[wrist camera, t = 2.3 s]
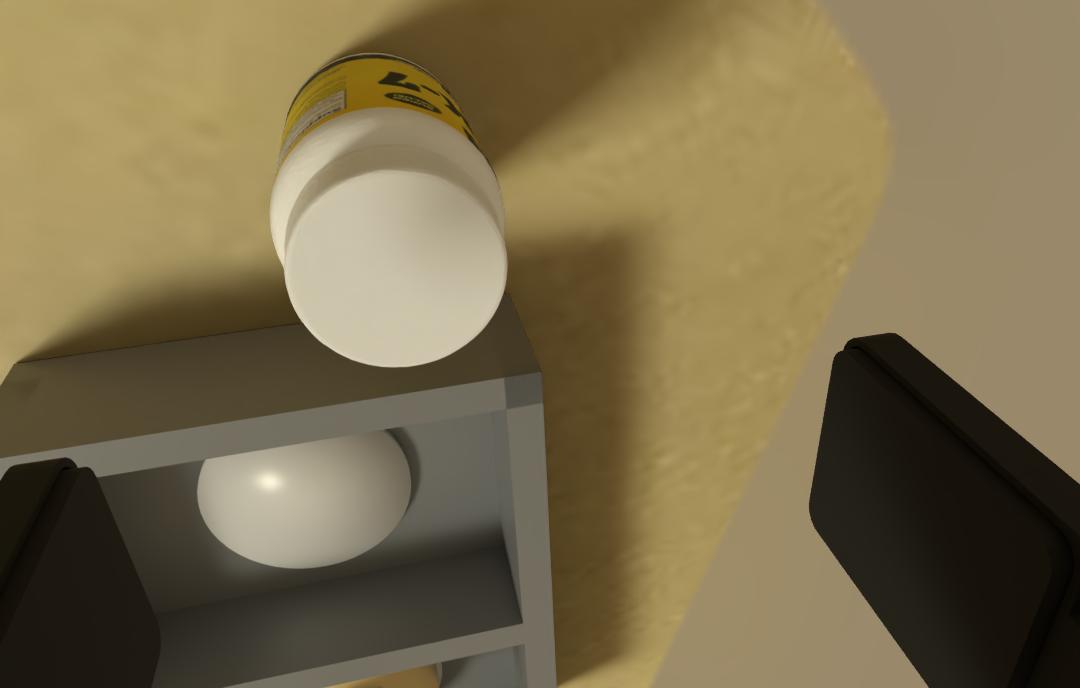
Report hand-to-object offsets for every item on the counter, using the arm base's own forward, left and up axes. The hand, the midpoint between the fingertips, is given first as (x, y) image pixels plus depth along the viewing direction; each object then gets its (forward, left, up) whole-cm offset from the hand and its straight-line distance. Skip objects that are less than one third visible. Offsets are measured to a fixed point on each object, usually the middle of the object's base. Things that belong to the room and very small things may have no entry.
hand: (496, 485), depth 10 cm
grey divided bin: (+15, -4, -14) cm, 20 cm away
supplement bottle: (-1, -1, -14) cm, 14 cm away
